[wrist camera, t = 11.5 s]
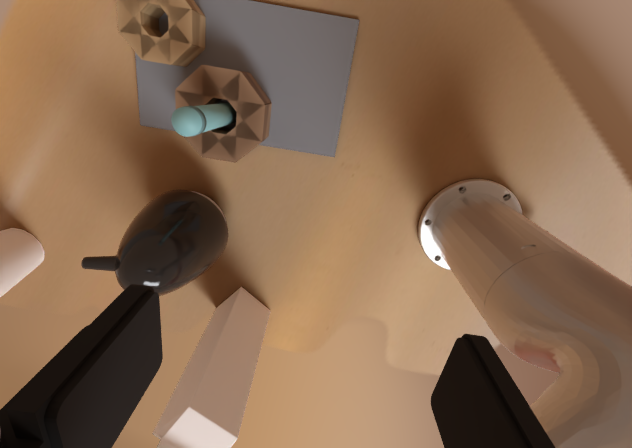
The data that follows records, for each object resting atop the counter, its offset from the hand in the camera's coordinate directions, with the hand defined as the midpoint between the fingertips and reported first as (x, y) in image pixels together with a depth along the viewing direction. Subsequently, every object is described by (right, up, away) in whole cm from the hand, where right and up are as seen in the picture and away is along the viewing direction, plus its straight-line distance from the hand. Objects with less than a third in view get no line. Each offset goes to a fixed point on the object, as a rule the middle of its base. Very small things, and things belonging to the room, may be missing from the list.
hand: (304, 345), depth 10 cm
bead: (-9, +16, +26) cm, 32 cm away
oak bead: (-15, +24, +23) cm, 36 cm away
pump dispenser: (-15, +5, +32) cm, 36 cm away
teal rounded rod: (-9, +16, +26) cm, 32 cm away
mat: (-8, +20, +25) cm, 33 cm away
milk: (-11, -9, +38) cm, 40 cm away
